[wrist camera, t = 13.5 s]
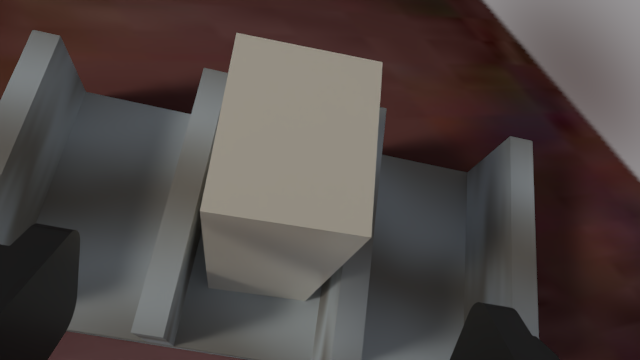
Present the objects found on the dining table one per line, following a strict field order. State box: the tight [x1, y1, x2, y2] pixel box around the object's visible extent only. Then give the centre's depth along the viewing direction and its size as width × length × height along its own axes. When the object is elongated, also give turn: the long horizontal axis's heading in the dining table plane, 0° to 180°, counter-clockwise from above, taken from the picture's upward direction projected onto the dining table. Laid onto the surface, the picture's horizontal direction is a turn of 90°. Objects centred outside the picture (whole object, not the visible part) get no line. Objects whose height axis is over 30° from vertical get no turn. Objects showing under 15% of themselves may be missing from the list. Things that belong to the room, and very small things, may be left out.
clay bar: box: [200, 33, 383, 301], centre depth 17 cm, size 5×4×10 cm
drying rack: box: [0, 30, 539, 360], centre depth 20 cm, size 10×20×5 cm, turn 82°
